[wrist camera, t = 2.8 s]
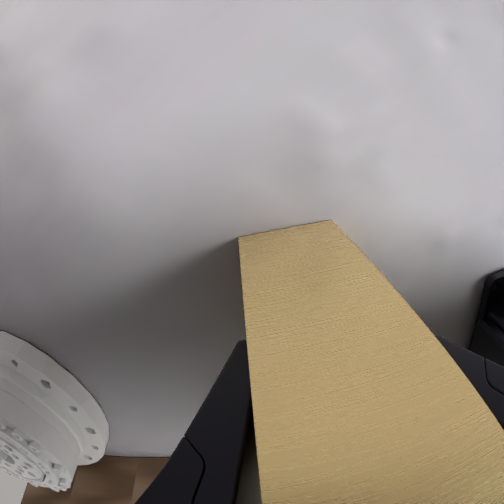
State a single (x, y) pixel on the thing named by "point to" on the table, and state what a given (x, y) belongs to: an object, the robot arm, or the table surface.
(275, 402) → the brushed gold block
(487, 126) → the table surface
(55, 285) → the table surface
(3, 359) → the mechanical component
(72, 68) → the table surface
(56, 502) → the slotted wooden block
